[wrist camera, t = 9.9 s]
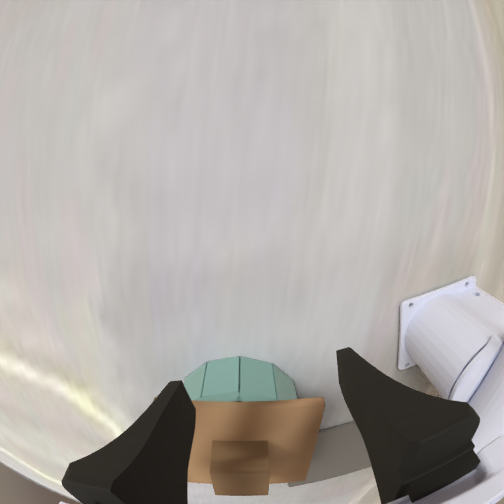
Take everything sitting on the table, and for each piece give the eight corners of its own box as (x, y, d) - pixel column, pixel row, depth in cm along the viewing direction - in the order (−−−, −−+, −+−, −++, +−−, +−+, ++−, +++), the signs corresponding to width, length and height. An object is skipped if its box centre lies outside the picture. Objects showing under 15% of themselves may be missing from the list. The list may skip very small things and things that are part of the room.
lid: (323, 396, 20) (335, 437, 16) (304, 475, 23) (310, 506, 19) (154, 397, 20) (141, 437, 15) (182, 475, 23) (177, 506, 19)
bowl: (286, 346, 24) (293, 380, 19) (302, 424, 26) (308, 455, 22) (165, 367, 24) (153, 399, 20) (203, 438, 27) (199, 469, 23)
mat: (406, 402, 26) (408, 404, 26) (395, 455, 30) (395, 457, 30) (273, 440, 27) (273, 442, 27) (288, 484, 31) (289, 486, 30)
